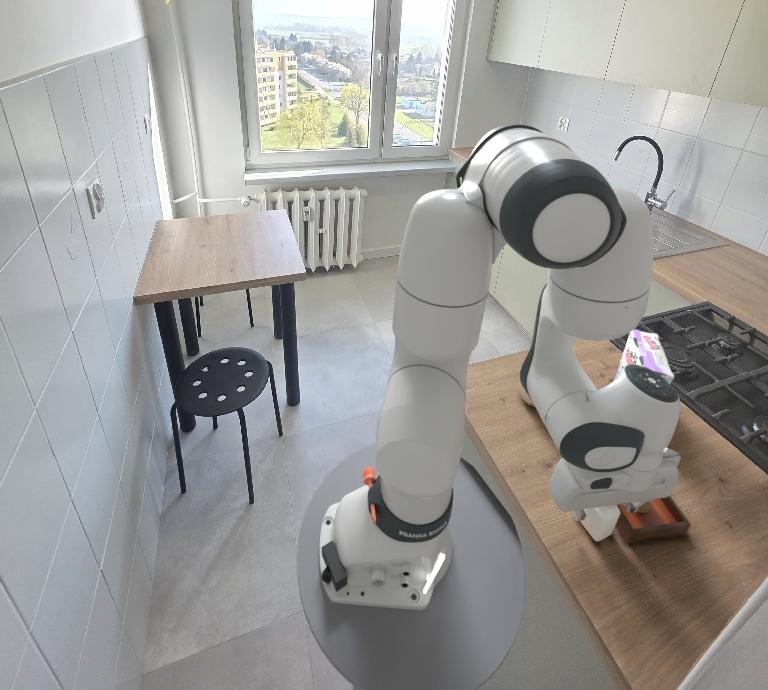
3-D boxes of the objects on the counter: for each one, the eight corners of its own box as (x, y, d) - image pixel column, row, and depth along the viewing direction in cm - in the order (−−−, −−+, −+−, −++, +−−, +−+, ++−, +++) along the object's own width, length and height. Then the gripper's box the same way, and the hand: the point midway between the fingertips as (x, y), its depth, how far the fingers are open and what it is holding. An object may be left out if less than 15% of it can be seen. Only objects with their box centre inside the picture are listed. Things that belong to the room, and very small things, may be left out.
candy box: (612, 380, 103) (630, 326, 97) (638, 387, 102) (659, 333, 95) (621, 425, 91) (642, 368, 85) (651, 434, 90) (675, 376, 83)
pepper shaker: (595, 544, 70) (610, 508, 66) (577, 520, 73) (590, 484, 69) (613, 534, 71) (628, 499, 67) (594, 511, 74) (607, 476, 71)
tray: (627, 543, 70) (632, 533, 69) (559, 428, 90) (562, 419, 89) (685, 535, 72) (691, 524, 70) (605, 424, 91) (609, 414, 90)
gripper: (667, 431, 69) (645, 486, 75) (553, 445, 66) (538, 500, 72) (699, 468, 64) (672, 524, 69) (575, 484, 61) (557, 541, 66)
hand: (603, 512), depth 70 cm, fingers open, 8 cm apart
